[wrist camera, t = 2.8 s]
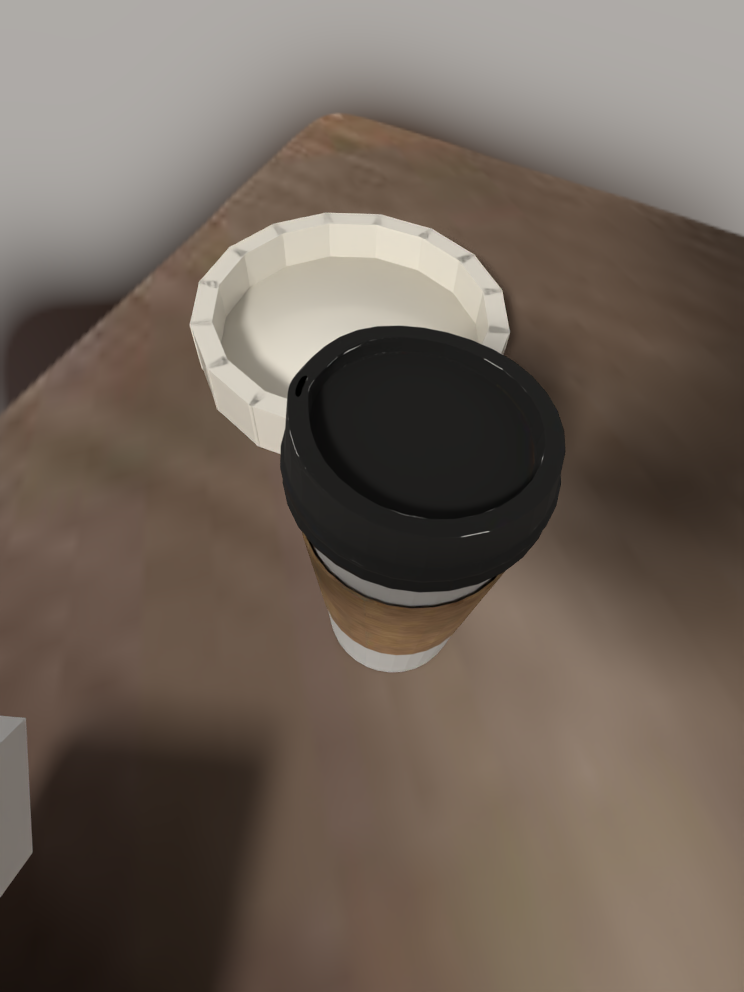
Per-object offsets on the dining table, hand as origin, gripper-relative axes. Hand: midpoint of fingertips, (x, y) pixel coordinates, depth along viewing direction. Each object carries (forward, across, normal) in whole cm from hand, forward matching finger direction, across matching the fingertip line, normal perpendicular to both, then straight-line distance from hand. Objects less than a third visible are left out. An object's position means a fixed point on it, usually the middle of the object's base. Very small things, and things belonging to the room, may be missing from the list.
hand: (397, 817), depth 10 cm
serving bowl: (+30, -3, +8) cm, 32 cm away
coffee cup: (+18, 0, -4) cm, 19 cm away
